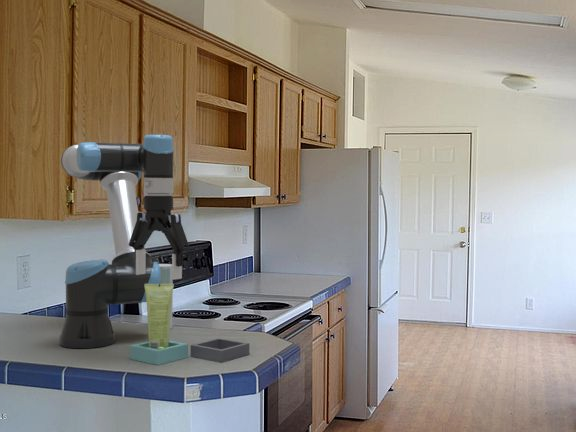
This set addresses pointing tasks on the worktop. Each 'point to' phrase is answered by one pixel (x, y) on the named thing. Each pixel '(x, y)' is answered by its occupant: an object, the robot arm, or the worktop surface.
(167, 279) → the spray can
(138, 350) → the block
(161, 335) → the tube
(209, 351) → the gray square frame
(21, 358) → the worktop surface
